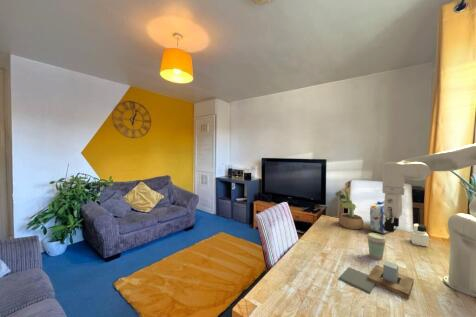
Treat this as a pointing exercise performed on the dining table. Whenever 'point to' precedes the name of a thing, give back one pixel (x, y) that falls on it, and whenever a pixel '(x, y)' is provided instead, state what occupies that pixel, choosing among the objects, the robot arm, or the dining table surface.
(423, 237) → the salt and pepper set
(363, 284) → the coaster
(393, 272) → the slate block
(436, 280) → the dining table surface
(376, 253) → the coffee cup
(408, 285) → the board
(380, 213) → the lunch box
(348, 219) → the potted plant
